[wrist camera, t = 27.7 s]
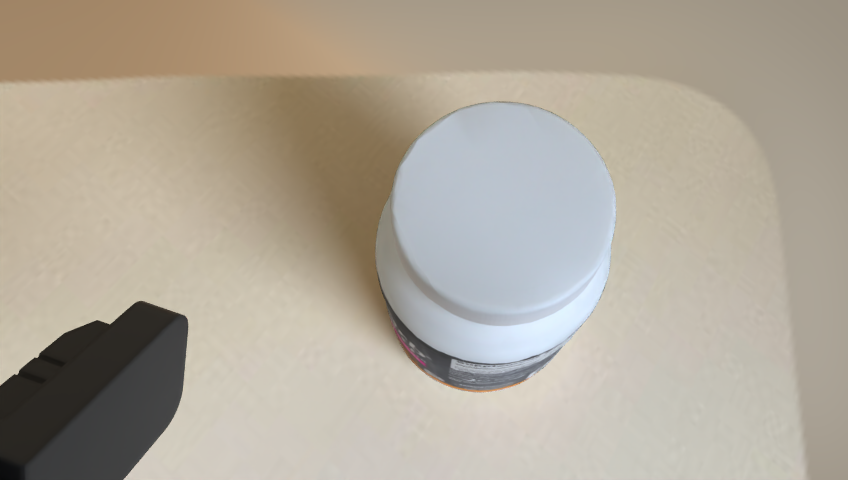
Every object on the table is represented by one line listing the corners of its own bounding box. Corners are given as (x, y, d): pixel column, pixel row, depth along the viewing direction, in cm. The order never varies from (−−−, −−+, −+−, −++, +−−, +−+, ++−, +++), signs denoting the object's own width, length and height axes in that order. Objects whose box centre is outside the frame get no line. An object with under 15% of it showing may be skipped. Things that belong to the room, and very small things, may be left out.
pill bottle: (372, 249, 26) (332, 113, 17) (537, 204, 27) (589, 47, 17) (417, 418, 25) (401, 372, 15) (593, 368, 25) (685, 293, 15)
